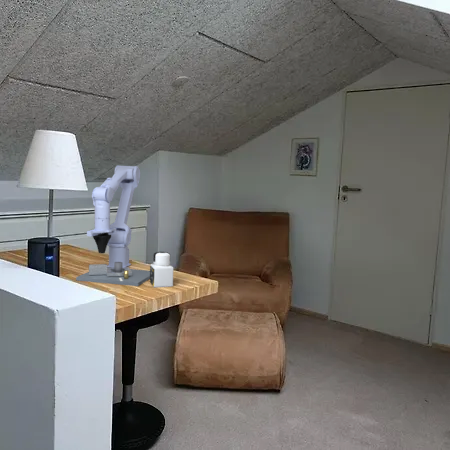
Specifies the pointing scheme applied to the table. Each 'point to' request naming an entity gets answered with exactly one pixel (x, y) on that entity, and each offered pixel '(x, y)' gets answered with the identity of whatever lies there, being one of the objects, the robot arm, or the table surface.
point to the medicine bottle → (161, 270)
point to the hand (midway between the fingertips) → (101, 252)
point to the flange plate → (106, 270)
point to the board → (118, 277)
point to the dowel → (126, 274)
